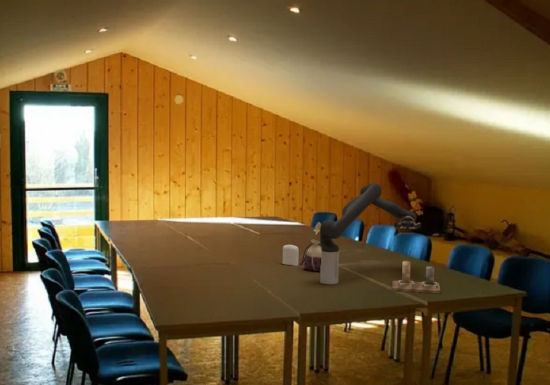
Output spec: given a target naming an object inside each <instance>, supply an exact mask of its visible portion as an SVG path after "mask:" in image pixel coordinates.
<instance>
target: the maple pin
mask: <svg viewBox="0 0 550 385" xmlns="http://www.w3.org/2000/svg"><path fill="white" fill-rule="evenodd" d="M401 270H402V272H401V273H402V274H401V280H402V283H408V284H410V281H411V261H408V260H403V261H402V268H401Z"/></svg>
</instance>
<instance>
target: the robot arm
mask: <svg viewBox="0 0 550 385" xmlns="http://www.w3.org/2000/svg"><path fill="white" fill-rule="evenodd" d="M359 194H360V195H358V196H356V197H355V198H353V199H351V200H350V201H349V202H348V203H347V204H346V205H345V206H344V207H343V208H342V213H341V218H339V219H338V220H336V221H335V220H333V221H332V220H324V221H322V222H321V227H320V232H319V239H320V240H319V242H320V243H319V244H320V246H321V249H322V251H321V269H320V272H319V273H320V275H319V278H320V279H319V283H320V284H324V285H337V284H339V265H340V264H339V258H340V256H339V255H340V247H339V245H338V244H336V243H335V242H334V241H333V240H336V239H340V238H341V236H342V235H344V233H345V231H346V230H347V229H348V228H349V227H350V226H351V224H352V223H354V221H355V220H356V219H358V218H359V217H360V215H362V213H364V211H366V209H367V208H368V207H369V206H370V205H373V206H376V207H378V208H379V209H381V210H382V211H385V212H386V213H387V214H389V215H390V216H392V217H393V218H394V219H396V220H399V219H400V220H399V221H395V222H394V228H395V229H396V228H398V229H403V231H407V232H408V231H411V230H417V229H422V228H421V227H422V223H421V222H417V223H416V220H417V215H416V213H415V212H412V211H410V210H408V209H406V208H405V209H404V208H403V207H401V206H400V205H398V204H397V203H395V202H393V201H390V200H387V199H384V198H381V195H382V186H381V185H380V184H379V183H378V182H377V183H376V182H372V183H369V184H367V185H364V186H363V187H362V188H361V189H360V191H359Z"/></svg>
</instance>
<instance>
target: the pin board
mask: <svg viewBox="0 0 550 385" xmlns="http://www.w3.org/2000/svg"><path fill="white" fill-rule="evenodd" d="M425 269H426V270H425V281H422V282H421V281H413V280H410V284H408V283H402V279H401V280H400V279H399V280H392V283H391V292H405V293H418V292H422V293H421V294H423V293H424V294H435V293H437V294H439V295H440V294H441V287H440V283H439V282H437V281H435V267H434V266H425Z"/></svg>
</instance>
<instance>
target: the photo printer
mask: <svg viewBox="0 0 550 385" xmlns="http://www.w3.org/2000/svg"><path fill="white" fill-rule="evenodd" d="M299 251H300V250H299V247H298V246H296V245H294V244H285V245H283V246H282V265H286V266H287V265H288V266H293V267H294V266H295V267H297V266H299V255H300V254H299Z"/></svg>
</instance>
